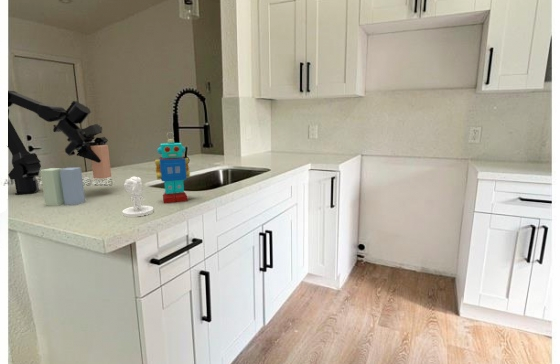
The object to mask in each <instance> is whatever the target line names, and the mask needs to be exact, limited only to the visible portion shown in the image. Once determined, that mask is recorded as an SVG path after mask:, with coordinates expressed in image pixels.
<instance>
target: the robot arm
mask: <svg viewBox="0 0 560 364" xmlns="http://www.w3.org/2000/svg"><path fill="white" fill-rule="evenodd" d="M13 105H16V106H19V107H20V108H23V109H26V110H28V111H30V112H33V113H35V114H36V115H37V116H38V117H39V118H41V119H43V120H44V121H46V122H48V123H55V122H56V124H53V132H54V133H59V132H61V133H62V134H64V136H66V138H67V139H66V141H68V142H69V143H68V145H67V146H66V147H65V148H64V152H65V154H67V156H68V157H70V156H75V154H76V156H77V157H81V158H84V159H87V160H89V161H91V160H93V161H95V162H98V163H100V162H101V160H100V159H99V157H98V156H97V155H96V154H95V153H94V152H93V151H92V149H91V146H95V145H107V143H108V142H109V139H107V138H106V137H105V136H98V137H96V136H97V135H98V134H102V133H103V127H102V126H101V125H100V124H97V123H95V124H91V125H89V126H87V127H85V128H81V127H80V126H79V125H78V124H81V125H82V124H83V123H84V122H85V120H86V119H87V118H88V116H89V115H90V114H91V113H92V111H91V110H90V108H89V107H88V106H86V105H84V104H83V103H80V102H79V101H77V100H72V102H71V103H70V105H69V107H68V108H67V109H65V108H64V107H61V106H59V105H54V104H53V105H52V104H48V103H47V104H46V103H43V102H40V101H39V100H36V99H33V98H31V97H29V96H26V95H24V94H22V93H19V92H17V91H16V90H9V89H8V146H7V148H8V149H9V152H10V153H11V156H12V157H11V164H12V167H13V168H12V169H11V171H10V172H9V173H8V177H9V179H10V180H12V181H14V186H15V191H16V192H15V193H14V195H25V194H26V195H27V194H35V193H36V192H38V191H39V190H40V186H39V181H38V179H37V178H36V177H37V176H38V177H39V175H40V174H39V173H40V170H41V168H42V165H41V162H42V161H41V160H40V159H39V158H38V155H37V153H35V152H33V153H31V152H29V151H28V150H27V149H26V147H25V145H24V143H23V141H22V139H21V137H20V135H19V134H18V132H17V130H16V129H15V127H14V125H13V123H12V121H11V119H10V118H9V115H10V109H9V108H10V107H12V106H13ZM75 150H76V152H77V153H75Z"/></svg>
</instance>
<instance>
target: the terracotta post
mask: <svg viewBox="0 0 560 364" xmlns="http://www.w3.org/2000/svg"><path fill="white" fill-rule="evenodd" d="M91 149H92V151H93V152H94V153H95V154H96V155H97V156H98V157H99V159H100V160H101V162H100V163H98V162H95V161H93V160H90V161H91V168H92V176H93V177H92V179H98V180H99V179H102V180H103V179H104V180H105V179H107V178H111V177H112V172H111V171H112V169H111V162H110V160H111V159H110V153H109V152H110V151H109V145H108V144H105V145H95V146H91Z"/></svg>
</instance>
